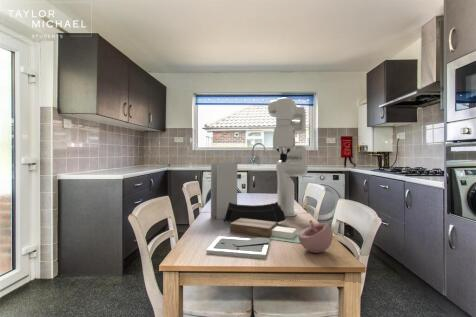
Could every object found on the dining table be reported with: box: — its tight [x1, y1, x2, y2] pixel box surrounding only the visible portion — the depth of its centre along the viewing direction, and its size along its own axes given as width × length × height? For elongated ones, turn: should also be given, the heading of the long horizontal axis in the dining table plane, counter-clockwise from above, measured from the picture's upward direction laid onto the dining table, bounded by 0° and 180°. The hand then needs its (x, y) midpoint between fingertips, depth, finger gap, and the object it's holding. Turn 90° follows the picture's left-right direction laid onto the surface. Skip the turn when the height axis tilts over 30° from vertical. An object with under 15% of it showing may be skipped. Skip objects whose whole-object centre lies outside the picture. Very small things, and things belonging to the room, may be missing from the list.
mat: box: [269, 231, 301, 245], centre depth 120 cm, size 15×14×1 cm
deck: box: [229, 218, 278, 238], centre depth 126 cm, size 12×18×4 cm, turn 66°
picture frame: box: [206, 236, 271, 259], centre depth 105 cm, size 16×3×21 cm
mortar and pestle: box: [298, 219, 334, 254], centre depth 102 cm, size 12×12×12 cm
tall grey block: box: [210, 161, 238, 220], centre depth 155 cm, size 14×6×30 cm, turn 133°
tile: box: [271, 225, 297, 239], centre depth 121 cm, size 7×9×2 cm
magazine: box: [223, 201, 286, 225], centre depth 141 cm, size 17×3×30 cm
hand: (283, 162), depth 136 cm, fingers closed
